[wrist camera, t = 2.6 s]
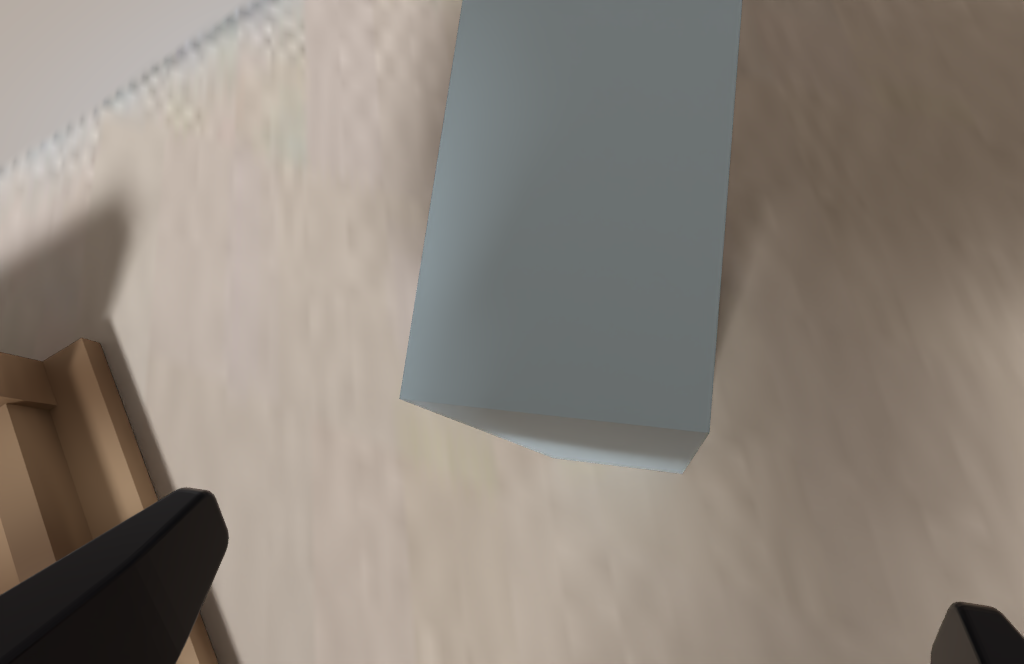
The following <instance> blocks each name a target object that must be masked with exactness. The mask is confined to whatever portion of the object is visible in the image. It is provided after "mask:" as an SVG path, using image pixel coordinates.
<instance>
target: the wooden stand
mask: <svg viewBox="0 0 1024 664" xmlns="http://www.w3.org/2000/svg"><path fill="white" fill-rule="evenodd" d="M157 501H158V499H157V496H156V493H155V491H154V488H153V485H152V483H151V480H150V477H149V474H148V472H147V469H146V466H145V464H144V461H143V458H142V456H141V453H140V450H139V447H138V445H137V442H136V439H135V437H134V434H133V431H132V428H131V426H130V423H129V420H128V418H127V415H126V412H125V409H124V407H123V404H122V401H121V399H120V396H119V393H118V391H117V388H116V385H115V382H114V380H113V377H112V374H111V372H110V369H109V366H108V363H107V361H106V358H105V355H104V353H103V350H102V347H101V345H100V343H98V342H95V341H91V340H88V339H84V338H80V339H79V340H77V341H75V342H74V343H72V344H71V345H69V346H67V347H66V348H64V349H62V350H61V351H59V352H57V353H56V354H54V355H53V356H51V357H49V358H48V359H46V360H44V361H43V362H42V361H38V360H33V359H29V358H24V357H20V356H15V355H11V354H6V353H2V352H0V595H1V594H3V593H4V592H6V591H8V590H9V589H11V588H13V587H14V586H16V585H18V584H19V583H21V582H23V581H24V580H26V579H28V578H29V577H31V576H33V575H34V574H36V573H38V572H40V571H41V570H43V569H45V568H46V567H48V566H50V565H51V564H53V563H55V562H56V561H58V560H60V559H61V558H63V557H65V556H66V555H68V554H70V553H71V552H73V551H75V550H76V549H78V548H80V547H81V546H83V545H85V544H86V543H88V542H90V541H92V540H93V539H95V538H97V537H98V536H100V535H102V534H103V533H105V532H107V531H108V530H110V529H112V528H113V527H115V526H117V525H118V524H120V523H122V522H123V521H125V520H127V519H128V518H130V517H132V516H133V515H135V514H137V513H138V512H140V511H142V510H144V509H145V508H147V507H149V506H150V505H152V504H154V503H155V502H157ZM176 664H218V661H217V659H216V656H215V653H214V650H213V648H212V645H211V642H210V640H209V637H208V634H207V632H206V629H205V626H204V623H203V621H202V618H201V615H200V613H199V614H198V617H197V619H196V621H195V624H194V626H193V628H192V631H191V633H190V635H189V637H188V640H187V642H186V644H185V646H184V648H183V650H182V652H181V654H180V656H179V658H178V660H177V662H176Z"/></svg>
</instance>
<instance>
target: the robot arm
mask: <svg viewBox="0 0 1024 664" xmlns="http://www.w3.org/2000/svg"><path fill="white" fill-rule="evenodd" d="M228 539H229V535H228V529H227V527H226V524H225V521H224V519H223V516H222V513H221V511H220V508H219V505H218V503H217V500H216V498H215V496H214V494H212V493H211V492H210V491H207V490H202V489H195V488H187V487H186V488H180V489H178V490H176V491H174V492H172V493H170V494H169V495H167V496H165V497H164V498H162V499H160V500H159V501H157V502H155V503H154V504H152V505H150V506H149V507H147V508H145V509H144V510H142V511H140V512H138V513H137V514H135V515H133V516H132V517H130V518H128V519H127V520H125V521H123V522H122V523H120V524H118V525H117V526H115V527H113V528H112V529H110V530H108V531H107V532H105V533H103V534H102V535H100V536H98V537H97V538H95V539H93V540H92V541H90V542H88V543H86V544H85V545H83V546H81V547H80V548H78V549H76V550H75V551H73V552H71V553H70V554H68V555H66V556H65V557H63V558H61V559H60V560H58V561H56V562H55V563H53V564H51V565H50V566H48V567H46V568H45V569H43V570H41V571H40V572H38V573H36V574H34V575H33V576H31V577H29V578H28V579H26V580H24V581H23V582H21V583H19V584H18V585H16V586H14V587H13V588H11V589H9V590H8V591H6V592H4V593H3V594H1V595H0V664H176V662H177V660H178V658H179V656H180V654H181V652H182V650H183V648H184V646H185V644H186V642H187V640H188V637H189V635H190V633H191V631H192V628H193V626H194V624H195V621H196V619H197V617H198V614H199V612H200V610H201V608H202V605H203V603H204V601H205V598H206V596H207V594H208V591H209V589H210V587H211V585H212V582H213V580H214V578H215V575H216V573H217V571H218V568H219V566H220V564H221V561H222V559H223V557H224V555H225V552H226V549H227V546H228ZM931 664H1024V637H1023V636H1022V635H1021V634H1020V633H1019V632H1018V630H1017V629H1016V628H1015V627H1014V626H1013V625H1012V624H1011V623H1010V621H1009V620H1008V619H1007V618H1006V617H1005V616H1004V615H1003V614H1002V613H1001V612H1000V611H998V610H997V609H995V608H993V607H990V606H985V605H979V604H972V603H965V602H955V603H953V604H952V605H950V607H949V609H948V610H947V613H946V615H945V618H944V620H943V622H942V625H941V627H940V629H939V632H938V634H937V636H936V639H935V641H934V643H933V646H932V651H931Z"/></svg>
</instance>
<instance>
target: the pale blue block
mask: <svg viewBox="0 0 1024 664" xmlns="http://www.w3.org/2000/svg"><path fill="white" fill-rule="evenodd" d="M741 11H742V0H463V2H462V8H461V14H460V21H459V27H458V33H457V40H456V46H455V52H454V58H453V65H452V71H451V77H450V84H449V90H448V96H447V103H446V109H445V115H444V122H443V128H442V134H441V140H440V147H439V153H438V159H437V166H436V172H435V178H434V185H433V191H432V197H431V203H430V210H429V216H428V222H427V229H426V235H425V241H424V248H423V254H422V260H421V267H420V273H419V279H418V285H417V292H416V298H415V304H414V311H413V317H412V323H411V330H410V336H409V342H408V348H407V355H406V361H405V367H404V374H403V380H402V386H401V393H400V399H401V400H404V401H406V402H409V403H412V404H414V405H417V406H419V407H422V408H425V409H427V410H430V411H432V412H435V413H438V414H440V415H443V416H445V417H448V418H451V419H453V420H456V421H458V422H461V423H464V424H466V425H469V426H471V427H474V428H477V429H479V430H482V431H484V432H487V433H490V434H492V435H495V436H497V437H500V438H503V439H505V440H508V441H510V442H513V443H516V444H518V445H521V446H523V447H526V448H529V449H531V450H534V451H536V452H539V453H542V454H544V455H547V456H549V457H552V458H558V459H566V460H574V461H582V462H590V463H599V464H607V465H615V466H623V467H631V468H639V469H647V470H656V471H664V472H672V473H680V474H682V473H683V472H684V470H685V469H686V467H687V466H688V464H689V463H690V461H691V460H692V458H693V457H694V455H695V454H696V452H697V451H698V449H699V448H700V446H701V445H702V443H703V442H704V440H705V439H706V437H707V436H708V434H709V431H710V418H711V405H712V392H713V379H714V366H715V353H716V339H717V326H718V313H719V300H720V287H721V274H722V261H723V248H724V234H725V221H726V208H727V195H728V182H729V169H730V156H731V143H732V129H733V116H734V103H735V90H736V77H737V64H738V51H739V37H740V24H741Z"/></svg>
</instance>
